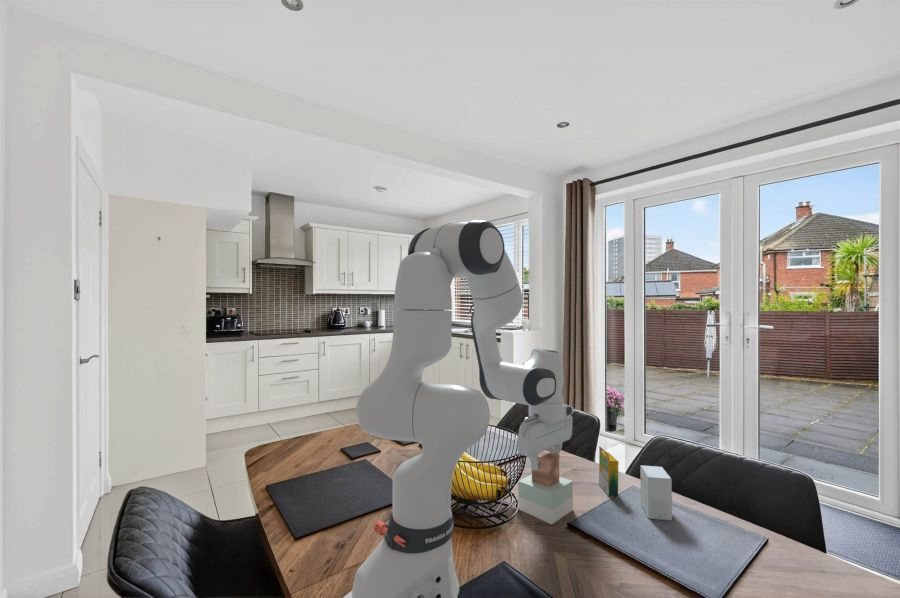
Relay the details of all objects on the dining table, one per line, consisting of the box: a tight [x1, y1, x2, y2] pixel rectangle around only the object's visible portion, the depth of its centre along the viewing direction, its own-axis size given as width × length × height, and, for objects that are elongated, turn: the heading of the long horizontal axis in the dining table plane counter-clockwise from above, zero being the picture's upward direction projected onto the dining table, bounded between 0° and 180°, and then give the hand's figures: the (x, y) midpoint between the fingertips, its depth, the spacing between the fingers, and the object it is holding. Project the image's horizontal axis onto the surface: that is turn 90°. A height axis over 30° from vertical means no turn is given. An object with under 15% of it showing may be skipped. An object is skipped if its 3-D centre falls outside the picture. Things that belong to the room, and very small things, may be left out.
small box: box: [639, 465, 673, 521], centre depth 107 cm, size 8×6×10 cm
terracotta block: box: [531, 450, 560, 487], centre depth 108 cm, size 5×5×7 cm
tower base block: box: [518, 496, 574, 525], centre depth 109 cm, size 10×10×4 cm
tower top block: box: [517, 473, 574, 510], centre depth 108 cm, size 10×10×4 cm
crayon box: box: [598, 445, 619, 497], centre depth 120 cm, size 7×3×12 cm, turn 0°
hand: (545, 464), depth 108 cm, fingers open, 8 cm apart
